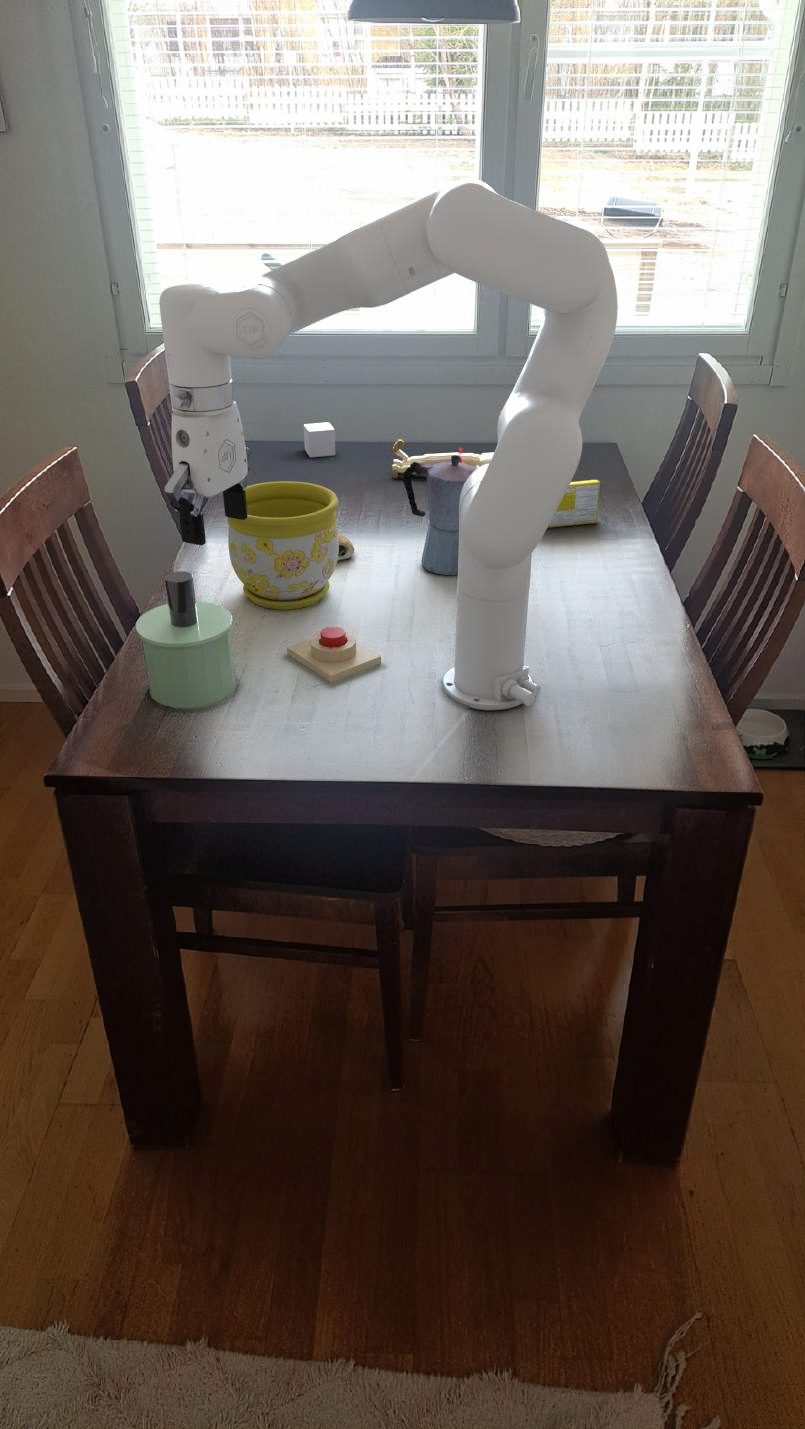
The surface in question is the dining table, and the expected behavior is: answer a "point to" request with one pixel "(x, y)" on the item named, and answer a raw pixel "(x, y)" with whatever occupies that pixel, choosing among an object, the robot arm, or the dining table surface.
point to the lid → (183, 617)
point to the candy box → (578, 505)
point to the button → (333, 637)
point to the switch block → (334, 657)
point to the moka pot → (440, 511)
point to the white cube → (319, 439)
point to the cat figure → (436, 459)
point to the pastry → (345, 548)
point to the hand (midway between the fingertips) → (216, 530)
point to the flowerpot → (285, 543)
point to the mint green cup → (190, 673)
